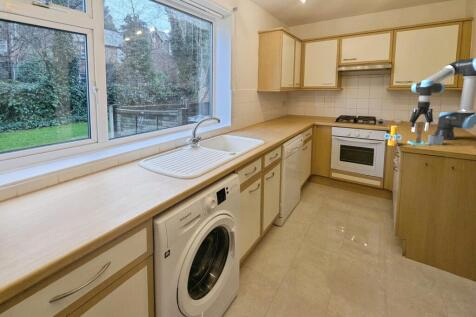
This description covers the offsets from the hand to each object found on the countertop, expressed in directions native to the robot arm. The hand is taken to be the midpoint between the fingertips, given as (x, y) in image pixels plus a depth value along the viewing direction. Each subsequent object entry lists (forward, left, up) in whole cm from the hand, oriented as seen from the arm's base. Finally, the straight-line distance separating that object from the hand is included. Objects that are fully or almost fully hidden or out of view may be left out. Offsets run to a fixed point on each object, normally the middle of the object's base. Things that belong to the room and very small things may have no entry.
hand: (419, 131), depth 210 cm
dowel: (0, 0, -10) cm, 10 cm away
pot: (-10, +8, -11) cm, 17 cm away
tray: (0, 0, -11) cm, 11 cm away
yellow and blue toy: (+13, -14, -11) cm, 22 cm away
